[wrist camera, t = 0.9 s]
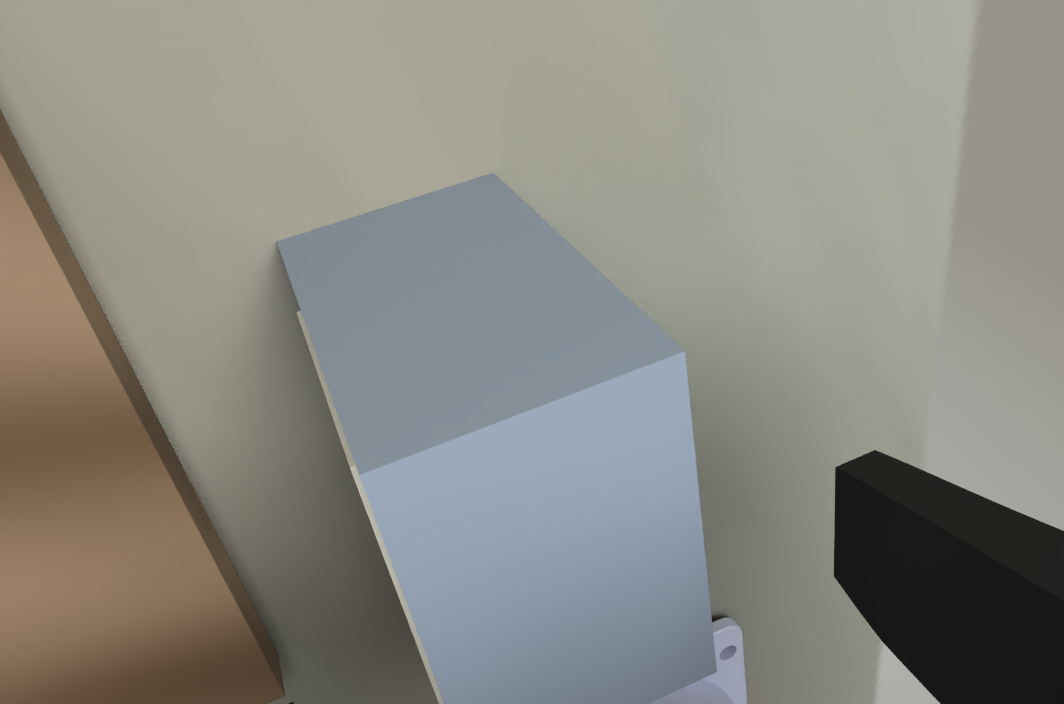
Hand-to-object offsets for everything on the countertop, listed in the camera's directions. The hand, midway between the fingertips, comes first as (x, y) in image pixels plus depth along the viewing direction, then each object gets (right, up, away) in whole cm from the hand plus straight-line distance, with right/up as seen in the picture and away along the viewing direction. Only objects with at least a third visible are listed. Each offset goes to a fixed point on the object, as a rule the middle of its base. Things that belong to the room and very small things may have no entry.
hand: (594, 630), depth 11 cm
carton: (-3, +4, +6) cm, 8 cm away
